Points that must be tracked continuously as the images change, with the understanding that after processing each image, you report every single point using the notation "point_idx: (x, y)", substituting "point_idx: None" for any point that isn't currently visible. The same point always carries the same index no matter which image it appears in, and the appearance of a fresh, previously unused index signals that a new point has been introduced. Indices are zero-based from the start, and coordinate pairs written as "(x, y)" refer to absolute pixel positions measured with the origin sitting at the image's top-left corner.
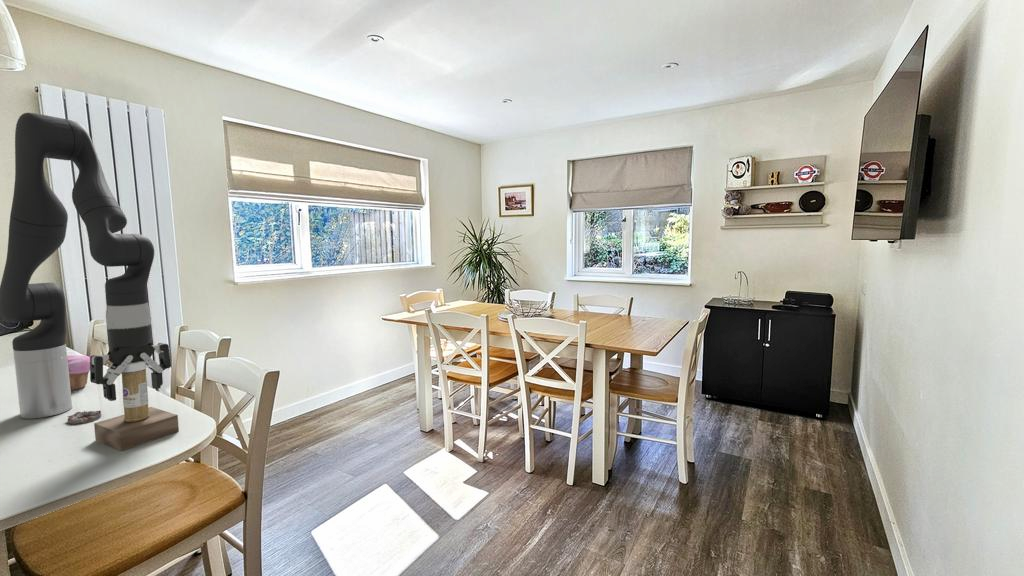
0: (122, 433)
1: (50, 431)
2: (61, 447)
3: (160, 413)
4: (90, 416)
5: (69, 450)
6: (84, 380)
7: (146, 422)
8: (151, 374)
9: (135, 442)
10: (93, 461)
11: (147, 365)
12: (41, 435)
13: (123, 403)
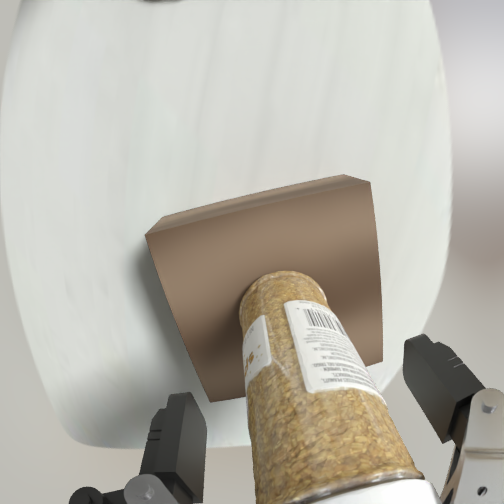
0: (215, 399)
1: (83, 15)
2: (83, 201)
3: (360, 307)
4: None
5: (100, 248)
6: None
7: None
8: (449, 396)
9: None
10: (153, 373)
11: (444, 498)
12: (60, 38)
13: (243, 361)
